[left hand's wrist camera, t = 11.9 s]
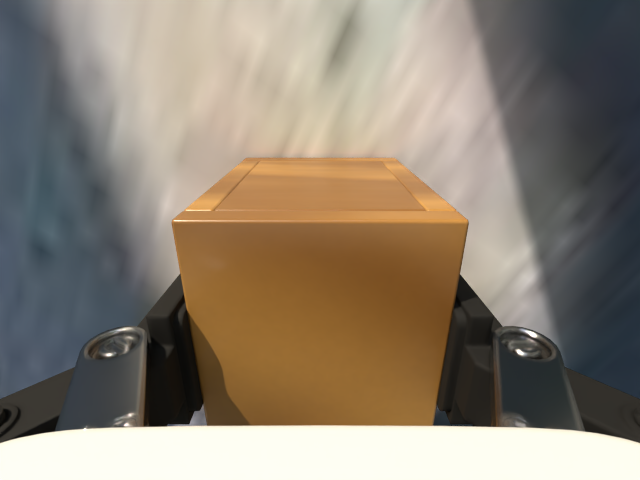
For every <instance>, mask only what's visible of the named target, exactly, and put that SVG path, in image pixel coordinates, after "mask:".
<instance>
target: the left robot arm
mask: <svg viewBox="0 0 640 480" xmlns="http://www.w3.org/2000/svg"><path fill="white" fill-rule="evenodd" d="M202 405H203V399H202V393H201V388H200V382H199V376H198V371H197V365H196V359H195V354H194V348H193V342H192V336H191V331H190V325H189V319H188V314H187V308H186V302H185V296H184V291H183V285H182V279H181V274H180V275H179V276H178V277H177V278H176V279H175V281H174V282H173V283H172V284H171V286H170V287H169V288H168V289H167V291H166V292H165V293H164V294H163V295H162V297H161V298H160V299H159V300H158V302H157V303H156V304H155V305H154V306H153V308H152V309H151V310H150V311H149V313H148V314H147V315H146V316H145V318H144V319H143V320H142V321H141V323H140V324H139V325H138V326H137V327H136V326H123V327H117V328H113V329H110V330H107V331H105V332H102V333H100V334H98V335H96V336H95V337H93V338H91V339H90V340H89V341H88V342H87V343H86V344H85V345H84V346H83V347H82V349H81V351H80V353H79V356H78V360H77V363H76V366H75V367H74V368H72V369H69V370H67V371H65V372H62V373H60V374H58V375H55V376H53V377H51V378H48V379H46V380H44V381H41V382H39V383H37V384H34V385H32V386H30V387H27V388H25V389H23V390H20V391H18V392H16V393H13V394H11V395H9V396H6V397H4V398H2V399H0V480H640V399H638V398H636V397H633V396H631V395H629V394H626V393H624V392H622V391H619V390H617V389H615V388H612V387H610V386H608V385H605V384H603V383H601V382H598V381H596V380H594V379H591V378H589V377H587V376H584V375H582V374H580V373H577V372H575V371H573V370H570V369H568V368H566V367H565V366H564V363H563V360H562V356H561V353H560V351H559V349H558V347H557V346H556V345H555V344H554V343H553V342H552V341H551V340H550V339H549V338H547V337H545V336H544V335H542V334H540V333H538V332H535V331H533V330H530V329H527V328H523V327H517V326H504V327H503V326H502V325H501V324H500V323H499V322H498V320H497V319H496V318H495V317H494V315H493V314H492V313H491V312H490V310H489V309H488V308H487V307H486V306H485V304H484V303H483V302H482V301H481V299H480V298H479V297H478V296H477V295H476V293H475V292H474V291H473V290H472V288H471V287H470V286H469V285H468V283H467V282H466V281H465V280H464V279H463V277H462V276H461V275H460V276H459V281H458V287H457V293H456V298H455V304H454V310H453V315H452V321H451V327H450V332H449V338H448V344H447V349H446V355H445V361H444V367H443V372H442V378H441V384H440V389H439V395H438V401H437V405H438V408H439V410H440V411H446V414H447V416H448V419H449V421H450V424H472V425H473V427H467V426H338V425H302V426H173V427H167V424H189V423H190V421H191V418H192V416H193V413H194V411H199V410H200V409H201V407H202Z"/></svg>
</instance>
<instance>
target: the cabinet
mask: <svg viewBox="0 0 640 480" xmlns="http://www.w3.org/2000/svg"><path fill="white" fill-rule="evenodd" d="M468 224H469V222H468V220H467V219H466V218H465V217H464V216H462V215H461V214H460V213H459V212H457V211H456V209H455V208H453V207H452V206H451V205H450V204H449V203H447V202H446V201H445V200H444V199H443V198H441V197H440V196H439V195H438V194H437V193H436V192H434V191H433V190H432V189H431V188H430V187H428V186H427V185H426V184H425V183H424V182H422V181H421V180H420V179H419V178H418V177H417V176H415V175H414V174H413V173H412V172H411V171H409V170H408V169H407V168H406V167H405V166H403V165H402V164H401V163H400V162H399V161H398V160H397V159H395V158H246V159H244V160H243V161H242V162H241V163H240V164H239V165H238V166H236V167H235V168H234V169H233V170H232V171H230V172H229V173H228V174H227V175H226V176H224V177H223V178H222V179H221V180H220V181H218V182H217V183H216V184H215V185H214V186H212V187H211V188H210V189H209V190H208V191H206V192H205V193H204V194H203V195H202V196H200V197H199V198H198V199H197V200H196V201H194V202H193V203H192V204H191V205H190V206H188V207H187V208H186V209H185V211H183V212H181V213H180V214H179V215H178V216H176V217H175V218H174V219H173V220H172V228H173V234H174V239H175V245H176V251H177V256H178V262H179V268H180V274H181V279H182V285H183V291H184V296H185V302H186V308H187V314H188V319H189V325H190V331H191V336H192V342H193V348H194V354H195V359H196V365H197V371H198V376H199V382H200V388H201V393H202V399H203V405H204V411H205V416H206V422H207V426H302V425H338V426H433V424H434V418H435V412H436V406H437V401H438V395H439V389H440V384H441V378H442V372H443V367H444V361H445V355H446V349H447V344H448V338H449V332H450V327H451V321H452V315H453V310H454V304H455V298H456V293H457V287H458V281H459V276H460V270H461V264H462V259H463V253H464V247H465V242H466V236H467V230H468Z"/></svg>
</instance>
